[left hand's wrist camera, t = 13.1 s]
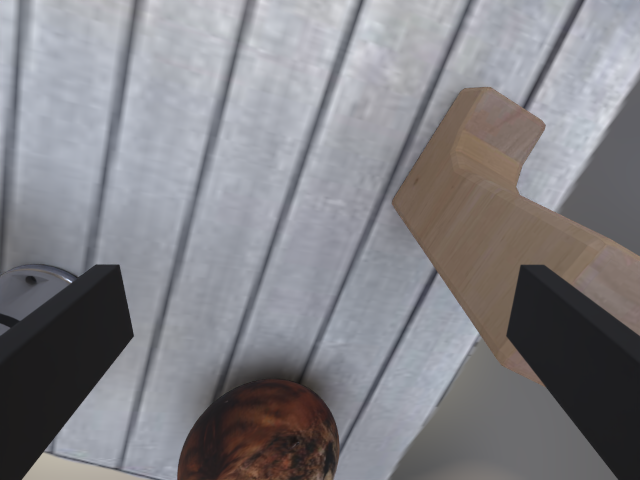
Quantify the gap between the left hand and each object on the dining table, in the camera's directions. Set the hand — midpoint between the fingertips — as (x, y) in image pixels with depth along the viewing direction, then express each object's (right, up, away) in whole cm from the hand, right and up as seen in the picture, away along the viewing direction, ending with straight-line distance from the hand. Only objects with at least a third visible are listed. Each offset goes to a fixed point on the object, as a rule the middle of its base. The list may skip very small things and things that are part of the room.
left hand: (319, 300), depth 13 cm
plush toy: (-8, -23, +44) cm, 51 cm away
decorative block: (+15, +11, +32) cm, 37 cm away
